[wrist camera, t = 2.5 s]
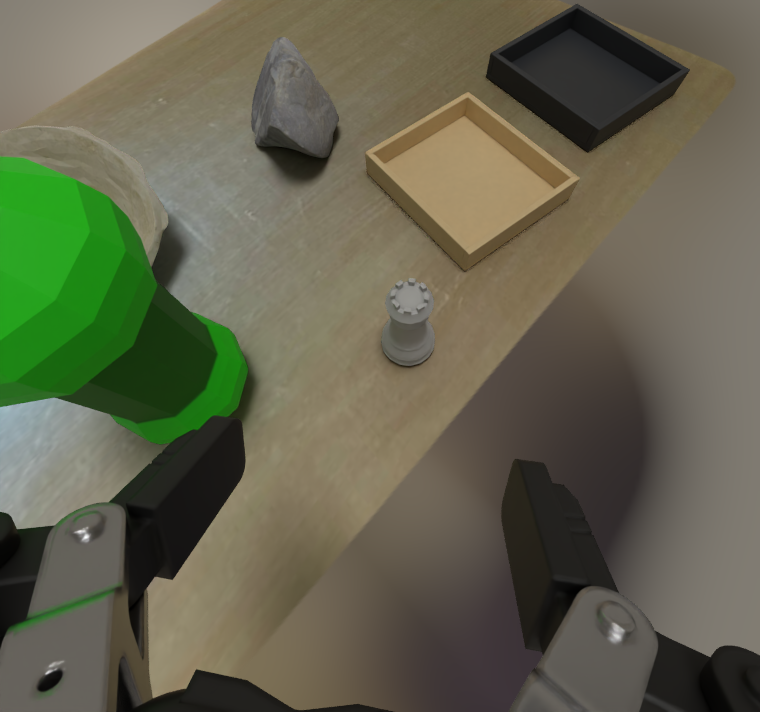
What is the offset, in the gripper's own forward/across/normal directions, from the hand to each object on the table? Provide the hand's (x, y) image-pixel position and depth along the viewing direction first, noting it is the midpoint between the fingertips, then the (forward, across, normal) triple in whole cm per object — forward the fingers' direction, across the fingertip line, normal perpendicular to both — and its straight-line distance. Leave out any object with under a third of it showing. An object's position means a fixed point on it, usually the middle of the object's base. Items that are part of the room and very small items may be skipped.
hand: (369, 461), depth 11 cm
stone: (+37, +14, -11) cm, 41 cm away
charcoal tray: (+45, -15, -19) cm, 51 cm away
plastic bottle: (+17, +16, +9) cm, 25 cm away
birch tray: (+34, -4, -8) cm, 35 cm away
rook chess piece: (+21, 0, +5) cm, 22 cm away
